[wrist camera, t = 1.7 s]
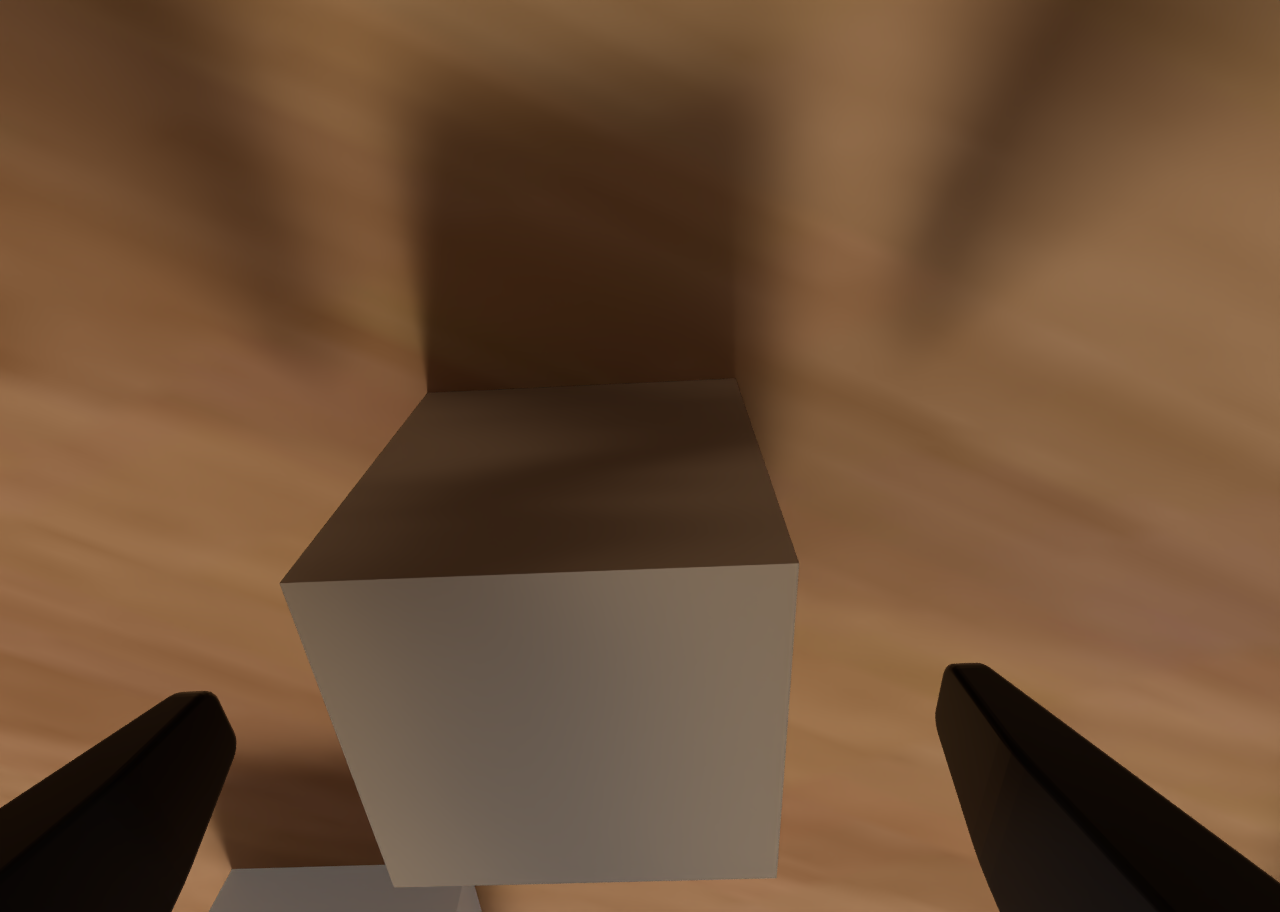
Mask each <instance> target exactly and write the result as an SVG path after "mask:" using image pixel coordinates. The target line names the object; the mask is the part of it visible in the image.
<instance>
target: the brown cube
mask: <svg viewBox="0 0 1280 912" xmlns="http://www.w3.org/2000/svg"><path fill="white" fill-rule="evenodd" d="M798 572H799V562H798V559H797V556H796V553H795V550H794V547H793V544H792V541H791V538H790V535H789V533H788V530H787V527H786V524H785V521H784V518H783V515H782V512H781V509H780V506H779V503H778V501H777V498H776V495H775V492H774V489H773V486H772V483H771V480H770V477H769V474H768V471H767V469H766V466H765V463H764V460H763V457H762V454H761V451H760V448H759V445H758V442H757V439H756V437H755V434H754V431H753V428H752V425H751V422H750V419H749V416H748V413H747V410H746V407H745V405H744V402H743V399H742V396H741V393H740V390H739V387H738V384H737V381H736V378H731V379H710V380H689V381H667V382H646V383H625V384H604V385H583V386H561V387H540V388H519V389H498V390H477V391H455V392H434V393H427V394H426V395H425V397H424V398H423V399H422V400H421V402H420V403H419V404H418V406H417V407H416V408H415V409H414V411H413V412H412V413H411V415H410V416H409V417H408V418H407V420H406V421H405V422H404V424H403V425H402V426H401V427H400V429H399V430H398V431H397V433H396V434H395V435H394V436H393V438H392V439H391V440H390V442H389V443H388V444H387V445H386V447H385V448H384V449H383V451H382V452H381V453H380V454H379V456H378V457H377V458H376V460H375V461H374V462H373V464H372V465H371V466H370V467H369V469H368V470H367V471H366V473H365V474H364V475H363V476H362V478H361V479H360V480H359V482H358V483H357V484H356V485H355V487H354V488H353V489H352V491H351V492H350V493H349V494H348V496H347V497H346V498H345V500H344V501H343V502H342V503H341V505H340V506H339V507H338V509H337V510H336V511H335V512H334V514H333V515H332V516H331V518H330V519H329V520H328V521H327V523H326V524H325V525H324V527H323V528H322V529H321V530H320V532H319V533H318V534H317V536H316V537H315V538H314V540H313V541H312V542H311V543H310V545H309V546H308V547H307V549H306V550H305V551H304V552H303V554H302V555H301V556H300V558H299V559H298V560H297V561H296V563H295V564H294V565H293V567H292V568H291V569H290V570H289V572H288V573H287V574H286V576H285V577H284V578H283V579H282V581H281V582H280V586H281V588H282V591H283V594H284V596H285V599H286V602H287V604H288V607H289V610H290V612H291V615H292V618H293V620H294V623H295V626H296V628H297V631H298V634H299V636H300V639H301V642H302V644H303V647H304V650H305V652H306V655H307V658H308V660H309V663H310V665H311V668H312V671H313V673H314V676H315V679H316V681H317V684H318V687H319V689H320V692H321V695H322V697H323V700H324V703H325V705H326V708H327V711H328V713H329V716H330V719H331V721H332V724H333V727H334V729H335V732H336V735H337V737H338V740H339V743H340V745H341V748H342V750H343V753H344V756H345V758H346V761H347V764H348V766H349V769H350V772H351V774H352V777H353V780H354V782H355V785H356V788H357V790H358V793H359V796H360V798H361V801H362V804H363V806H364V809H365V812H366V814H367V817H368V820H369V822H370V825H371V828H372V830H373V833H374V836H375V838H376V841H377V843H378V846H379V849H380V851H381V854H382V857H383V859H384V862H385V865H386V867H387V870H388V873H389V875H390V878H391V881H392V883H393V886H394V888H395V887H436V886H476V885H517V884H557V883H598V882H638V881H679V880H720V879H760V878H777V864H778V850H779V836H780V822H781V808H782V795H783V781H784V767H785V753H786V739H787V725H788V711H789V697H790V683H791V669H792V655H793V641H794V627H795V613H796V599H797V585H798Z"/></svg>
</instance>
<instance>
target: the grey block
mask: <svg viewBox="0 0 1280 912" xmlns="http://www.w3.org/2000/svg"><path fill="white" fill-rule="evenodd" d="M209 912H482V910H481V907H480V903H479V900H478V896H477V893H476V889H475V886H436V887H395V888H394V886H393V883H392V881H391V878H390V875H389V873H388V870H387V867H386V865H358V866H323V867H288V868H253V869H232V870H231V872H230V874H229V875H228V877H227V879H226V881H225V883H224V885H223V886H222V888H221V890H220V892H219V894H218V896H217V897H216V899H215V901H214V903H213V905H212V907H211V908H210V910H209Z"/></svg>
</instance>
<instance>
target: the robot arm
mask: <svg viewBox="0 0 1280 912" xmlns="http://www.w3.org/2000/svg"><path fill="white" fill-rule="evenodd" d="M935 719H936V727H937V732H938V735H939V738H940V741H941V745H942V748H943V751H944V754H945V757H946V761H947V764H948V767H949V770H950V773H951V776H952V780H953V783H954V786H955V789H956V792H957V795H958V799H959V802H960V805H961V808H962V811H963V814H964V818H965V821H966V824H967V827H968V830H969V834H970V837H971V840H972V843H973V846H974V849H975V852H976V855H977V858H978V860H979V863H980V866H981V868H982V871H983V873H984V876H985V878H986V881H987V883H988V886H989V888H990V890H991V893H992V895H993V897H994V900H995V902H996V904H997V907H998V909H999V911H1000V912H1280V883H1279V882H1278V881H1277V880H1275V879H1274V878H1273V877H1271V876H1270V875H1268V874H1267V873H1266V872H1264V871H1263V870H1262V869H1260V868H1259V867H1258V866H1256V865H1255V864H1254V863H1252V862H1251V861H1250V860H1248V859H1247V858H1246V857H1244V856H1243V855H1242V854H1240V853H1239V852H1238V851H1236V850H1235V849H1233V848H1232V847H1231V846H1229V845H1228V844H1227V843H1225V842H1224V841H1223V840H1221V839H1220V838H1219V837H1217V836H1216V835H1215V834H1213V833H1212V832H1211V831H1209V830H1208V829H1207V828H1205V827H1204V826H1202V825H1201V824H1200V823H1198V822H1197V821H1196V820H1194V819H1193V818H1192V817H1190V816H1189V815H1188V814H1186V813H1185V812H1184V811H1182V810H1181V809H1180V808H1178V807H1177V806H1176V805H1174V804H1173V803H1172V802H1170V801H1169V800H1167V799H1166V798H1165V797H1163V796H1162V795H1161V794H1159V793H1158V792H1157V791H1155V790H1154V789H1153V788H1151V787H1150V786H1149V785H1147V784H1146V783H1145V782H1143V781H1142V780H1141V779H1139V778H1138V777H1136V776H1135V775H1134V774H1132V773H1131V772H1130V771H1128V770H1127V769H1126V768H1124V767H1123V766H1122V765H1120V764H1119V763H1118V762H1116V761H1115V760H1114V759H1112V758H1111V757H1110V756H1108V755H1107V754H1105V753H1104V752H1103V751H1101V750H1100V749H1099V748H1097V747H1096V746H1095V745H1093V744H1092V743H1091V742H1089V741H1088V740H1087V739H1085V738H1084V737H1083V736H1081V735H1080V734H1079V733H1077V732H1076V731H1075V730H1073V729H1072V728H1070V727H1069V726H1068V725H1066V724H1065V723H1064V722H1062V721H1061V720H1060V719H1058V718H1057V717H1056V716H1054V715H1053V714H1052V713H1050V712H1049V711H1048V710H1046V709H1045V708H1044V707H1042V706H1041V705H1039V704H1038V703H1037V702H1035V701H1034V700H1033V699H1031V698H1030V697H1029V696H1027V695H1026V694H1025V693H1023V692H1022V691H1021V690H1019V689H1018V688H1017V687H1015V686H1014V685H1013V684H1011V683H1010V682H1009V681H1007V680H1006V679H1004V678H1003V677H1002V676H1000V675H999V674H998V673H996V672H995V671H994V670H992V669H991V668H990V667H988V666H986V665H984V664H981V663H960V664H950V665H948V666H947V667H946V669H945V671H944V674H943V678H942V683H941V688H940V693H939V697H938V702H937V707H936V713H935ZM235 751H236V736H235V733H234V731H233V729H232V727H231V725H230V722H229V720H228V718H227V716H226V714H225V712H224V710H223V708H222V706H221V704H220V702H219V700H218V698H217V696H216V695H214V694H213V693H212V692H208V691H194V692H180V693H176V694H173V695H171V696H170V697H168V698H166V699H165V700H163V701H162V702H160V703H159V704H157V705H156V706H154V707H153V708H151V709H150V710H148V711H147V712H145V713H144V714H142V715H141V716H139V717H138V718H136V719H135V720H133V721H132V722H130V723H128V724H127V725H125V726H124V727H122V728H121V729H119V730H118V731H116V732H115V733H113V734H112V735H110V736H109V737H107V738H106V739H104V740H103V741H101V742H100V743H98V744H97V745H95V746H94V747H92V748H91V749H89V750H88V751H86V752H84V753H83V754H81V755H80V756H78V757H77V758H75V759H74V760H72V761H71V762H69V763H68V764H66V765H65V766H63V767H62V768H60V769H59V770H57V771H56V772H54V773H53V774H51V775H50V776H48V777H47V778H45V779H44V780H42V781H41V782H39V783H37V784H36V785H34V786H33V787H31V788H30V789H28V790H27V791H25V792H24V793H22V794H21V795H19V796H18V797H16V798H15V799H13V800H12V801H10V802H9V803H7V804H6V805H4V806H3V807H1V808H0V912H171V911H172V909H173V907H174V905H175V903H176V901H177V899H178V897H179V895H180V892H181V890H182V888H183V886H184V884H185V881H186V879H187V876H188V874H189V872H190V869H191V867H192V865H193V862H194V860H195V857H196V854H197V852H198V849H199V847H200V844H201V842H202V839H203V836H204V834H205V831H206V829H207V826H208V823H209V821H210V818H211V816H212V813H213V810H214V808H215V805H216V803H217V800H218V798H219V795H220V792H221V790H222V787H223V785H224V782H225V779H226V777H227V774H228V772H229V769H230V766H231V764H232V761H233V759H234V755H235Z"/></svg>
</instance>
